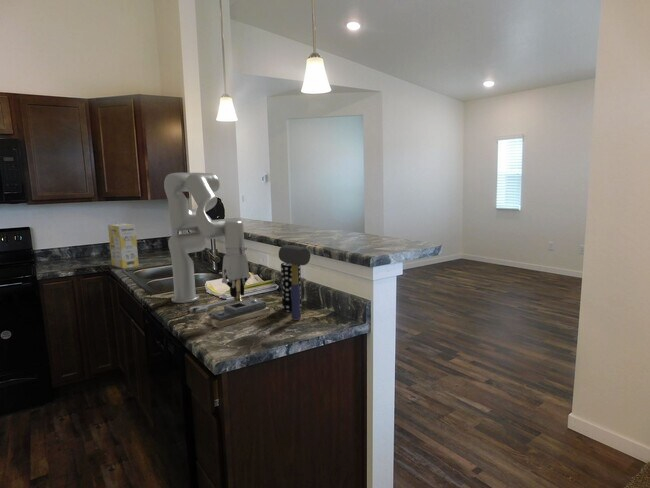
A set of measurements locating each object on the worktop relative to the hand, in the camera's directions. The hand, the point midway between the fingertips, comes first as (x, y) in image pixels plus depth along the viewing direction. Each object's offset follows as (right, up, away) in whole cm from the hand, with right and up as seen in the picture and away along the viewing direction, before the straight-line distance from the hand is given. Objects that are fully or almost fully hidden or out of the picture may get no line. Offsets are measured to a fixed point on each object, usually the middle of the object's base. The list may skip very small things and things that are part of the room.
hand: (237, 295), depth 173 cm
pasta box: (-101, +6, +117) cm, 155 cm away
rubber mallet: (+24, -10, -3) cm, 26 cm away
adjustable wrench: (-13, -8, +18) cm, 24 cm away
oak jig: (0, -9, +1) cm, 9 cm away
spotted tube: (+21, -8, +11) cm, 25 cm away
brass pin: (0, -2, 0) cm, 2 cm away
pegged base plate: (0, -7, +1) cm, 7 cm away
